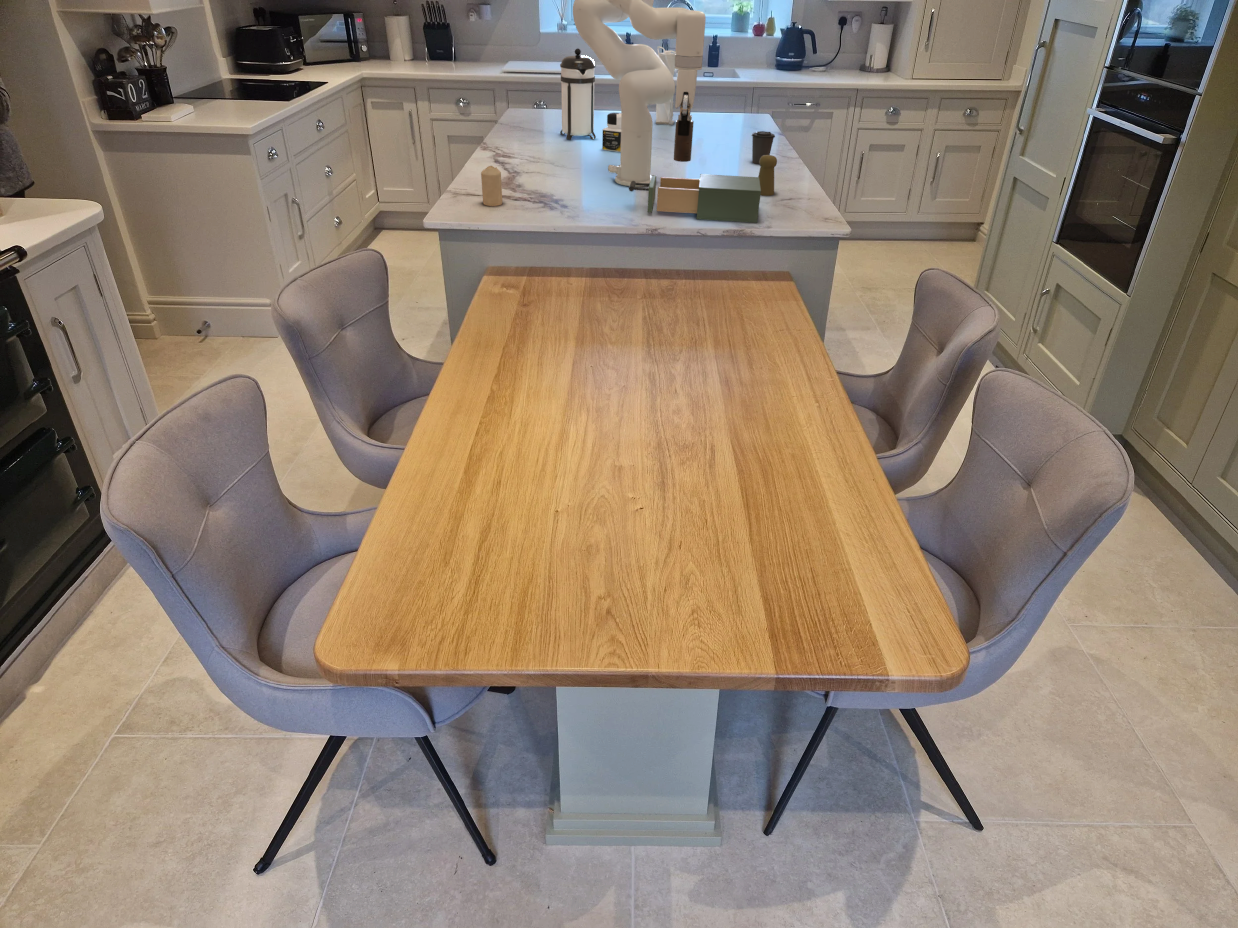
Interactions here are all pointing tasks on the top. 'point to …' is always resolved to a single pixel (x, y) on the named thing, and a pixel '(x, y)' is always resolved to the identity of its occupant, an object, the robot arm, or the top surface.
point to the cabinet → (728, 198)
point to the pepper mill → (683, 143)
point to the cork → (767, 174)
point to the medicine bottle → (612, 133)
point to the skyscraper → (666, 109)
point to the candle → (491, 186)
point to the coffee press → (577, 95)
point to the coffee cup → (761, 145)
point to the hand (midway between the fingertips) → (683, 132)
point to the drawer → (671, 194)
